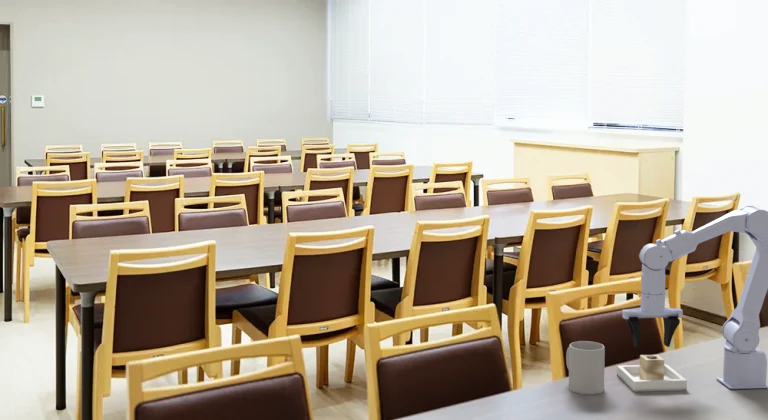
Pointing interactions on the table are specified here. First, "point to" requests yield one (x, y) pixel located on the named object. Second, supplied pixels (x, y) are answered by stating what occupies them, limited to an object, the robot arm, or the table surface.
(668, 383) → the tray
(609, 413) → the table surface
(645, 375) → the bore block
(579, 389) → the mug
